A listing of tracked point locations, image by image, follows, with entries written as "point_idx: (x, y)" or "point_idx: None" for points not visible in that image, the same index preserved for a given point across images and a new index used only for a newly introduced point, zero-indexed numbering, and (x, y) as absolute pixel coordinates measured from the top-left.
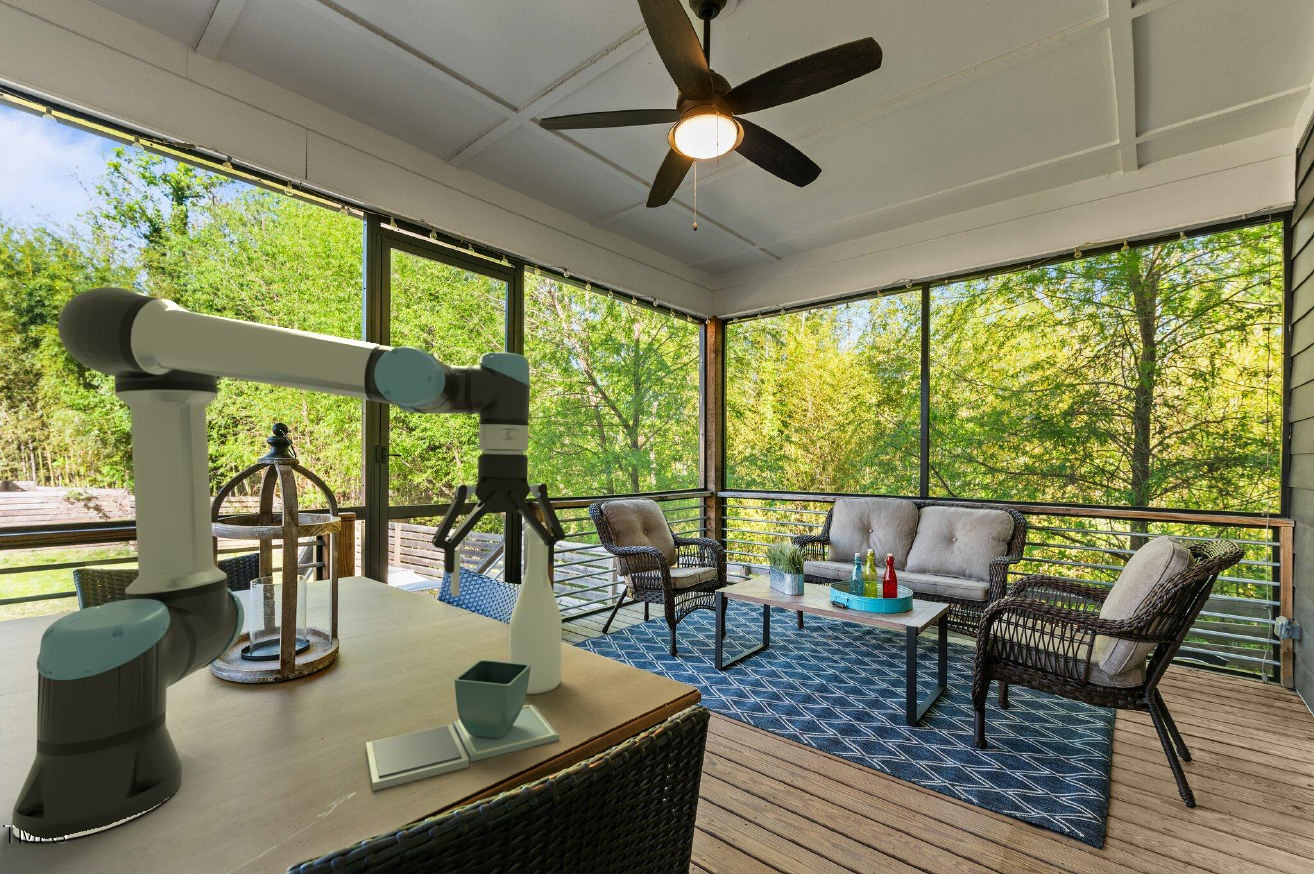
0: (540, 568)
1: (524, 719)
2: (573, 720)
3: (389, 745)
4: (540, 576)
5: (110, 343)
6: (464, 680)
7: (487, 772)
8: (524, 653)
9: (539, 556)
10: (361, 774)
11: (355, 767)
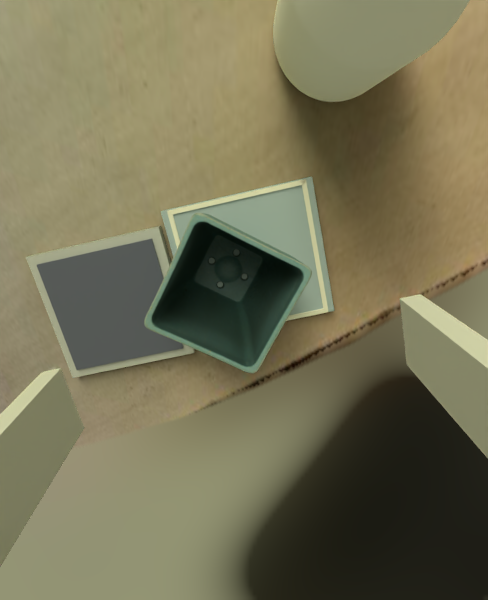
0: (436, 366)
1: (287, 238)
2: (372, 244)
3: (67, 286)
4: (419, 351)
5: None
6: (165, 333)
7: (221, 368)
8: (316, 74)
9: (467, 376)
10: (49, 327)
11: (34, 306)
